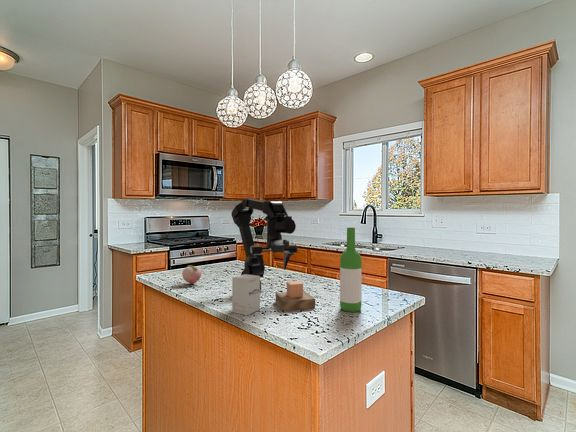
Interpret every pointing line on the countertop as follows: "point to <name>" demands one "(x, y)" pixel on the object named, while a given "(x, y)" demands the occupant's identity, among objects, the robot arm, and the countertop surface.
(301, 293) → the terracotta cube
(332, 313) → the countertop surface
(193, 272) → the decorative fruit
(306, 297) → the walnut block
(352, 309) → the wine bottle
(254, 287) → the supplement box
